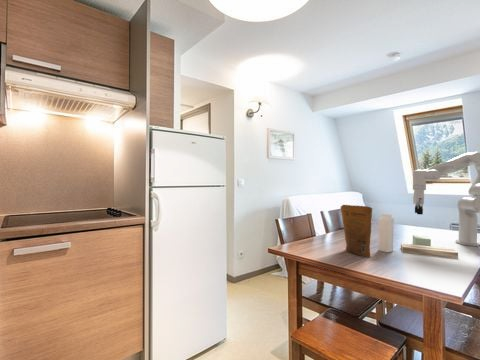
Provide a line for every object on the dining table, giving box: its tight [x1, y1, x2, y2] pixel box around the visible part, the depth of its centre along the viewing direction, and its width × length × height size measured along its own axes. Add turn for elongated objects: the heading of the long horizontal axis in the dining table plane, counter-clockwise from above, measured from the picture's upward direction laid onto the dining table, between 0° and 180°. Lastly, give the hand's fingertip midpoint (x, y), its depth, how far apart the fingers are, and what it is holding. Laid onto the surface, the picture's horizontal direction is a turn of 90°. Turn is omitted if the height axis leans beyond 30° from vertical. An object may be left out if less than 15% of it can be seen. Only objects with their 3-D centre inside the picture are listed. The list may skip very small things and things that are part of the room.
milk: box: [378, 213, 395, 253], centre depth 158 cm, size 6×6×22 cm
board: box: [400, 242, 459, 259], centre depth 155 cm, size 10×26×3 cm, turn 65°
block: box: [412, 234, 432, 246], centre depth 171 cm, size 10×8×6 cm
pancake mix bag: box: [340, 204, 373, 258], centre depth 151 cm, size 7×19×28 cm, turn 28°
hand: (418, 213), depth 181 cm, fingers open, 7 cm apart
